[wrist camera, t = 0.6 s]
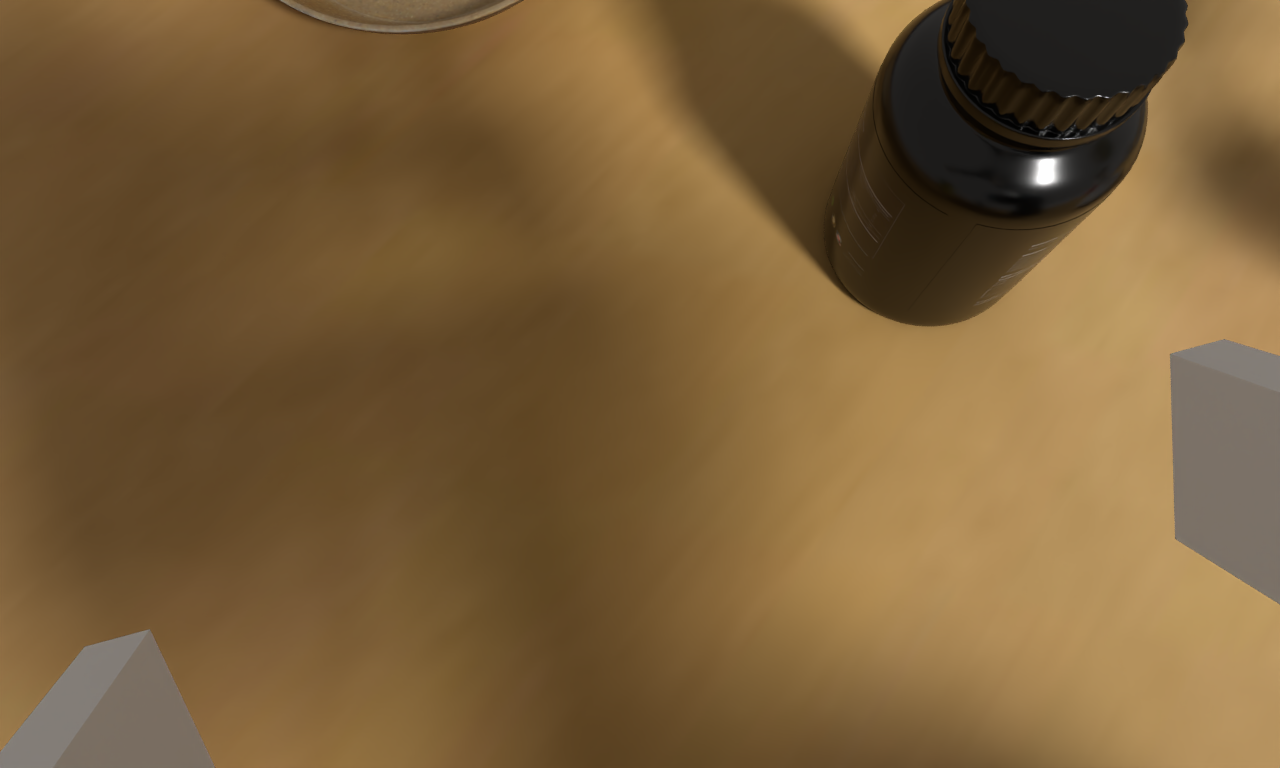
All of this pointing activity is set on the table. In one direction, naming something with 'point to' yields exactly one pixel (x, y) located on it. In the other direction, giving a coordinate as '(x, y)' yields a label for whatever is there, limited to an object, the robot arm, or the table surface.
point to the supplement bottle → (991, 146)
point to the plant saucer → (401, 13)
